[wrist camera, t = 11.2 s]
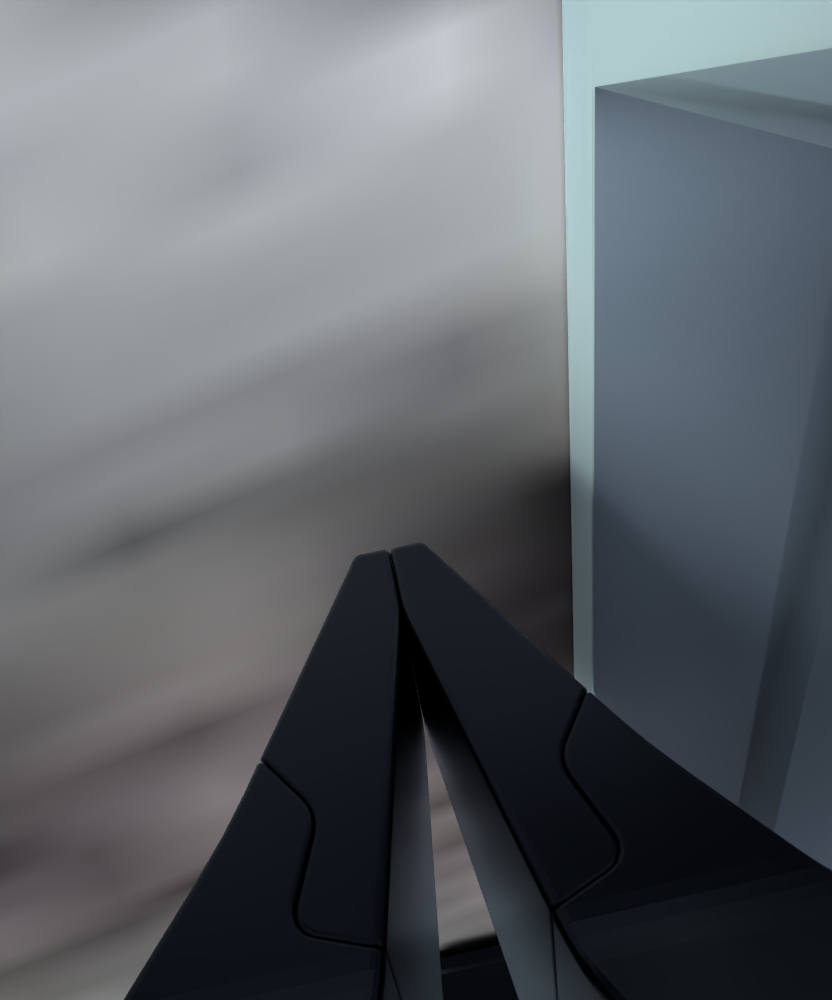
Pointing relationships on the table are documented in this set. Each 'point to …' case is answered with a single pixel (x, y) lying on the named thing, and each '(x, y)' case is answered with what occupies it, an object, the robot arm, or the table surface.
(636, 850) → the robot arm
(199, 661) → the table surface
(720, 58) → the board
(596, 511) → the cover
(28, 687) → the table surface
